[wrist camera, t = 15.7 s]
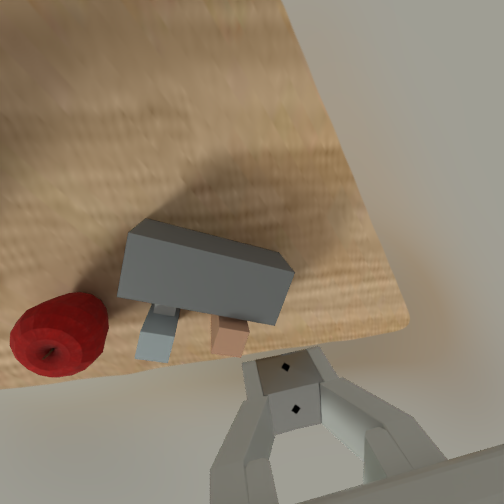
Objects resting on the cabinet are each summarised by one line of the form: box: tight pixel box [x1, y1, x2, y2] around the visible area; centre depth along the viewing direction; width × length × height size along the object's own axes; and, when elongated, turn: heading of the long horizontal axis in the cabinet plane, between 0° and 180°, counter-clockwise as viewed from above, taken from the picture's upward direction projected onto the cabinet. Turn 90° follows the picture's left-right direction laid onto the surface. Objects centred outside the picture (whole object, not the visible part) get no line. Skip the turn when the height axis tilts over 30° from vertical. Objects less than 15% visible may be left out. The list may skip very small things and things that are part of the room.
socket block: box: [117, 218, 295, 326], centre depth 35 cm, size 20×8×8 cm, turn 72°
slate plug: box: [135, 303, 180, 363], centre depth 35 cm, size 4×10×9 cm, turn 162°
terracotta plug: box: [211, 314, 250, 358], centre depth 36 cm, size 4×10×9 cm, turn 162°
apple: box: [10, 292, 109, 377], centre depth 33 cm, size 10×10×11 cm
